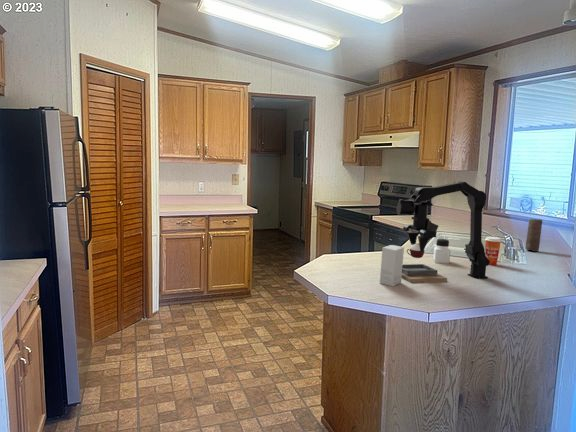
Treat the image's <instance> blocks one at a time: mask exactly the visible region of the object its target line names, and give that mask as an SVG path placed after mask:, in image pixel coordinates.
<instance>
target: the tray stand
mask: <svg viewBox="0 0 576 432" xmlns="http://www.w3.org/2000/svg"><path fill="white" fill-rule="evenodd" d="M438 272H439V271H438V269H435V268H433V267H430V266H429V265H426V264H423V263H421V264H420V263H416V264H415V263H412V264H411V263H410V264H407V263H406V264H403V265H402V276H401V279H403V280H405V281H406V282H408V283H437V282H438V283H439V282H440V283H441V282H442V283H443V282H448V277H447V276H443V275H441V274H440V273H438Z"/></svg>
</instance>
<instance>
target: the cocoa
mask: <svg viewBox="0 0 576 432" xmlns="http://www.w3.org/2000/svg"><path fill="white" fill-rule="evenodd" d="M425 248H426V247H425ZM425 248H424V251H421V250H420V246H419V242H416V244H413V245H411V244H410V249H409V248H408V249H406V252H407V254H408V255H409V256H411V258H415V259H420V258H423V256H424V254H425ZM408 251H409V252H408Z"/></svg>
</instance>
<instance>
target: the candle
mask: <svg viewBox="0 0 576 432" xmlns="http://www.w3.org/2000/svg"><path fill="white" fill-rule="evenodd" d="M542 225H543V219H541V218H539V219H538V218H537V219H535V218H534V219H532V218H531V219H529V220H528V227H527V235H526V240H525V241H526V242H525V248H524V249H525V250H526V249H527V250H532V251H531V252H539V250H540V243H541V237H542V236H541V235H542V227H543V226H542ZM527 250H526V251H527Z"/></svg>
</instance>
